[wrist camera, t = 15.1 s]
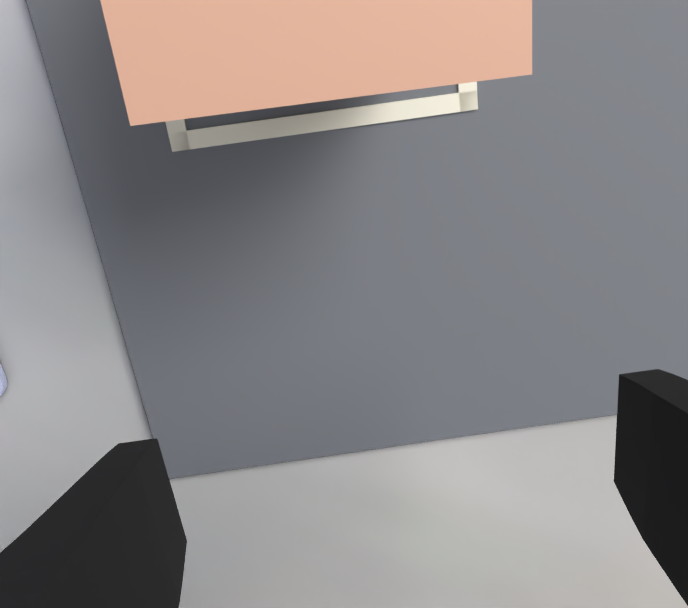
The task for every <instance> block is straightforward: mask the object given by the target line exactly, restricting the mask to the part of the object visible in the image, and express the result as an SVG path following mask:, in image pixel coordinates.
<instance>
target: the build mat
mask: <svg viewBox="0 0 688 608" xmlns="http://www.w3.org/2000/svg"><path fill="white" fill-rule="evenodd" d="M26 2H27V5H28V9H29V12H30V16H31V19H32V23H33V26H34V29H35V33H36V36H37V40H38V43H39V47H40V50H41V54H42V57H43V60H44V64H45V67H46V71H47V74H48V78H49V81H50V85H51V88H52V91H53V95H54V98H55V102H56V105H57V109H58V112H59V116H60V119H61V122H62V126H63V129H64V133H65V136H66V140H67V143H68V147H69V150H70V153H71V157H72V160H73V164H74V167H75V171H76V174H77V178H78V181H79V184H80V188H81V191H82V195H83V198H84V202H85V205H86V209H87V212H88V215H89V219H90V222H91V226H92V229H93V233H94V236H95V240H96V243H97V246H98V250H99V253H100V257H101V260H102V264H103V267H104V271H105V274H106V277H107V281H108V284H109V288H110V291H111V295H112V298H113V302H114V305H115V308H116V312H117V315H118V319H119V322H120V326H121V329H122V333H123V336H124V339H125V343H126V346H127V350H128V353H129V357H130V360H131V364H132V367H133V370H134V374H135V377H136V381H137V384H138V388H139V391H140V395H141V398H142V401H143V405H144V408H145V412H146V415H147V419H148V422H149V426H150V429H151V432H152V436H153V439H156V438H157V439H158V442H159V446H160V449H161V453H162V456H163V460H164V463H165V467H166V470H167V474H168V477H169V479H172V478H179V477H186V476H193V475H200V474H207V473H213V472H220V471H227V470H234V469H241V468H248V467H255V466H262V465H269V464H276V463H283V462H290V461H297V460H304V459H311V458H318V457H324V456H331V455H338V454H345V453H352V452H359V451H366V450H373V449H380V448H387V447H394V446H401V445H408V444H415V443H422V442H429V441H435V440H442V439H449V438H456V437H463V436H470V435H477V434H484V433H491V432H498V431H505V430H512V429H519V428H526V427H533V426H540V425H547V424H553V423H560V422H567V421H574V420H581V419H588V418H595V417H602V416H609V415H616V414H617V407H618V385H619V374H625V373H632V372H639V371H647V370H654V369H660V370H663V371H666V372H669V373H672V374H674V375H677V376H680V377H682V378H684V379H687V380H688V0H532V75H524V76H516V77H508V78H501V79H493V80H485V81H477V82H469V83H462V84H454V85H446V86H438V87H430V88H423V89H415V90H407V91H399V92H391V93H384V94H376V95H368V96H360V97H352V98H345V99H337V100H329V101H321V102H313V103H305V104H298V105H290V106H282V107H274V108H266V109H259V110H251V111H243V112H235V113H228V114H220V115H212V116H204V117H196V118H189V119H181V120H173V121H165V122H157V123H149V124H142V125H134V126H130V122H129V118H128V114H127V110H126V105H125V101H124V97H123V93H122V89H121V85H120V80H119V76H118V72H117V68H116V64H115V60H114V55H113V51H112V47H111V43H110V39H109V35H108V30H107V26H106V22H105V18H104V14H103V10H102V5H101V1H100V0H26Z"/></svg>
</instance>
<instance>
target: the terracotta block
mask: <svg viewBox="0 0 688 608" xmlns="http://www.w3.org/2000/svg"><path fill="white" fill-rule="evenodd" d="M100 1H101V5H102V10H103V14H104V18H105V22H106V26H107V30H108V35H109V39H110V43H111V47H112V51H113V55H114V60H115V64H116V68H117V72H118V76H119V80H120V85H121V89H122V93H123V97H124V101H125V105H126V110H127V114H128V118H129V122H130V126H134V125H142V124H149V123H157V122H165V121H173V120H181V119H189V118H196V117H204V116H212V115H220V114H228V113H235V112H243V111H251V110H259V109H266V108H274V107H282V106H290V105H298V104H305V103H313V102H321V101H329V100H337V99H345V98H352V97H360V96H368V95H376V94H384V93H391V92H399V91H407V90H415V89H423V88H430V87H438V86H446V85H454V84H462V83H469V82H477V81H485V80H493V79H501V78H508V77H516V76H524V75H532V0H100Z"/></svg>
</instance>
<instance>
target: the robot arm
mask: <svg viewBox="0 0 688 608" xmlns="http://www.w3.org/2000/svg"><path fill="white" fill-rule="evenodd" d="M6 388H7V379H6V377H5V374H4V371H3V369H2V366H1V363H0V396H1V395H2V394H3V392H4V391H5V390H6ZM614 482H615V485H616V487H617V489H618V491H619V493H620V495H621V497H622V499H623V501H624V503H625V505H626V507H627V509H628V511H629V513H630V515H631V517H632V519H633V521H634V523H635V525H636V527H637V529H638V531H639V532H640V534H641V536H642V538H643V540H644V541H645V543H646V544H647V546H648V548H649V549H650V551H651V552H652V554H653V555H654V557H655V558H656V560H657V561H658V563H659V564H660V566H661V567H662V569H663V570H664V571H665V573H666V574H667V576H668V577H669V579H670V580H671V582H672V583H673V585H674V586H675V588H676V589H677V591H678V592H679V594H680V595H681V597H682V598H683V599H684V601H685V602H686V604H687V605H688V380H687V379H684V378H682V377H680V376H677V375H674V374H672V373H669V372H666V371H663V370H660V369H654V370H647V371H639V372H632V373H625V374H619V385H618V407H617V428H616V450H615V471H614ZM186 543H187V540H186V536H185V533H184V529H183V526H182V523H181V519H180V516H179V512H178V509H177V505H176V502H175V498H174V495H173V491H172V488H171V484H170V481H169V477H168V474H167V470H166V467H165V463H164V460H163V456H162V453H161V449H160V446H159V442H158V439H157V438H156V439H149V440H142V441H134V442H127V443H120V444H118V445H116V446H115V447H114V448H113V449H111V450H110V451H109V452H108V453H107V454H106V455H105V456H103V457H102V458H101V459H100V460H99V461H98V462H97V463H96V464H95V465H94V466H93V467H92V468H91V469H90V470H89V471H88V472H86V473H85V474H84V475H83V476H82V477H81V478H80V479H79V480H78V481H77V482H76V483H75V484H74V485H73V486H72V487H71V488H70V489H69V490H68V491H67V492H66V493H65V494H64V495H63V496H61V497H60V498H59V499H58V500H57V501H56V502H55V503H54V504H53V505H52V506H51V507H50V508H49V509H48V510H47V511H46V512H45V513H44V514H42V515H41V516H40V517H39V518H38V519H37V520H36V521H35V522H34V523H33V524H32V525H31V526H30V527H29V528H28V529H27V530H26V531H24V532H23V533H22V534H21V535H20V536H19V537H18V538H17V539H16V540H14V541H13V542H12V543H11V544H10V545H9V546H8V547H6V548H5V549H4V550H3V551H2V552H1V553H0V608H178V607H179V602H180V595H181V587H182V579H183V571H184V562H185V553H186Z"/></svg>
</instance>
